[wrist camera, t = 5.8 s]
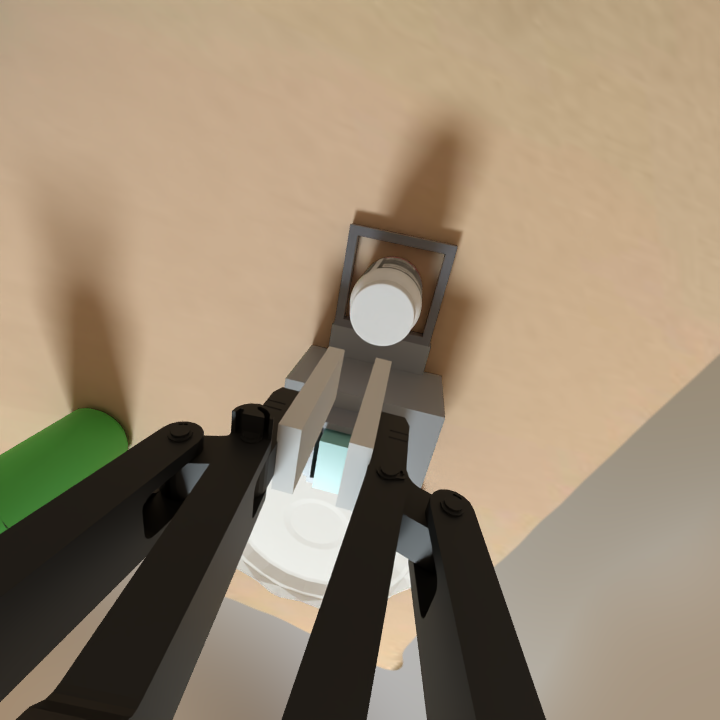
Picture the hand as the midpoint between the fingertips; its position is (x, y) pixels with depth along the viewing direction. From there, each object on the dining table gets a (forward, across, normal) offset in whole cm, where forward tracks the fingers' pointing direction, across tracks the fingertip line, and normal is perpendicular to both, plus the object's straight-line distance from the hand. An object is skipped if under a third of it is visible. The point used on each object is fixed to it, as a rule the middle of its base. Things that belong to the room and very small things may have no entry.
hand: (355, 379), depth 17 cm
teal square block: (+10, 0, -13) cm, 16 cm away
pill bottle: (+20, 0, 0) cm, 20 cm away
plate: (+20, -3, -34) cm, 39 cm away
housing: (+19, 0, -6) cm, 20 cm away
